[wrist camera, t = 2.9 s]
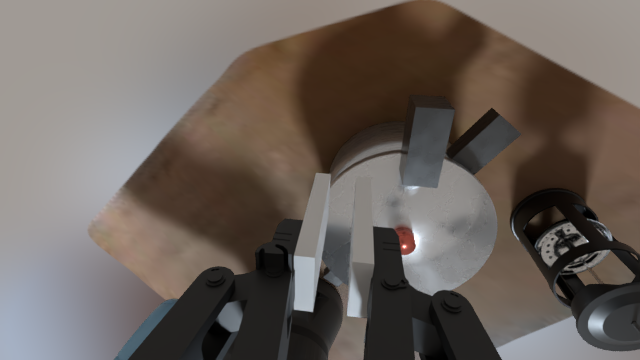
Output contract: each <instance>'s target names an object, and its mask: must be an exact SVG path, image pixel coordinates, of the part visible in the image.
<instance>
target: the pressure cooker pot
mask: <svg viewBox="0 0 640 360" xmlns="http://www.w3.org/2000/svg"><path fill="white" fill-rule="evenodd" d="M404 128H405V122H404V121H393V122H385V123H380V124H377V125H373V126H371V127H368V128H366V129H364V130H362V131H360V132H359V133H357V134H355V135H354V136H353V137H351V138H350V139H349V140H348V141H347V142H346V143H345V144H344V145H343V146H342V147H341V149H340V150H339V151H338V153H337V154H336V156H335V158H334V160H333V162H332V165H331V168H330V172H329V174H331V177H330V184H331V182H332V181H333V180H334V179H335V178H336V177H337V176H338V175H339V174H340V173H341V172H342V171H344V170H345V169H346V168H348V167H349V166H351V165H352V164H354V163H356V162H358V161H360V160H362V159H364V158H366V157H369V156H371V155H374V154H377V153H382V152H386V151H392V150H401V147H402V141H403V134H404ZM520 135H521V133H520V132H519V131H517V130H516V129H515V128H514V127H513V126H512V125H511V124H510V123H509V122H507V121H506V120H505V119H504V118H503V117H502V116H501V115H500V114H498V113H497V112H496V111H495V110H494V109H493V108H491V109H490V110H489V111H488V112H487V113H486V114H484V115H483V116H482V117H481V118H480V119H479V120H478V121H477V122H476V123H475V124H474V125H473V126H472V127H471V128H470V129H468V130H467V131H466V132H465V133H464V134H463V135H462V136H461V137H460V138H459V139H458V140H457V141H456V142H455V143H454V144H452V145H451V143H450V142H449V141H448V143H447V148H446V152H445V157H448V158H450V159H452V160H454V161H456V162H458V163H459V164H461V165H463V166H464V167H465V168H467V169H468V170H469V171H470V172H472V173H473V174H476V173H477V172H478V171H479V170H480V169H481V168H483V167H484V166H485V165H486V164H487V163H488V162H490V161H491V160H492V159H493V158H494V157H495V156H497V155H498V154H499V153H500V152H501V151H502V150H504V149H505V148H506V147H507V146H508V145H509V144H511V143H512V142H513V141H514V140H515V139H516V138H518V137H519V136H520ZM323 278H325V279H326V280H328V281H329V282H331V283H332V284H334V285H335V286H337V287H338V286H339V285H340V284H342V283H343V282H342V281H341V280H340V279H338V278H337V277H336V276H335V275H334V274H333V273H332V272H331V271H330V270H329V268H328V267H326V268H325V269H324V276H323Z"/></svg>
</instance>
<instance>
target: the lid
mask: <svg viewBox="0 0 640 360" xmlns="http://www.w3.org/2000/svg"><path fill="white" fill-rule="evenodd" d="M454 112H455V109H454V108H453V107H452V105H451V104H450V103H449V102H448V100H447V99H446V98H445V97H442V96H426V95H410V97H409V103H408V109H407V116H406V122H405V128H404V134H403V141H402V147H401V150H392V151H386V152H382V153H377V154H374V155H371V156H369V157H366V158H364V159H362V160H360V161H358V162H356V163H354V164H352V165H351V166H349V167H348V168H346V169H345V170H344V171H342V172H341V173H340V174H339V175H338V176H337V177H336V178H335V179H334V180H333V181H332V182H331V184H330V195H329V212H328V222H327V228H326V234H325V240H324V247H323V253H322V259H323V261H324V263H325V264H326V266H327V267H328V268H329V270H330V271H331V272H332V273H333V274H334V275H335V276H336V277H337V278H338V279H340V280H341V281H342V282H343V283H345V284H347V285H348V286H349V267H350V248H351V229H352V215H353V204H354V194H355V184H356V176H360V177H371V192H372V217H373V226H375V227H386V228H393V229H394V230H395V231H396V233H397V234H398V235H399V240H400V247H401V254H402V261H403V267H404V274H405V278H406V279H407V280H408V281H409V284H410V285H411V286H412V287H414V288H415V289H417V290H418V291H421V292H423V293H426V294H428V295H431V296H433V294H435V293H436V292H437V291H441V290H452V289H454V288H456V287H458V286H460V285H461V284H463V283H464V282H466V281H467V280H468V279H470V278H471V277H472V276H473V275H474V274H475V273H477V272H478V271H479V269H480V268H481V267H482V266H483V265H484V263H485V262H486V260H487V259H488V257H489V256H490V254H491V251H492V249H493V247H494V244H495V240H496V236H497V215H496V211H495V208H494V205H493V203H492V200H491V198H490V196H489V195H488V193H487V191H486V190H485V188H484V187H483V185H482V184H481V182H480V181H479V180H478V179H477V178H476V177H475V176H474V174H473V173H472V172H470V171H469V170H468V169H467V168H465V167H464V166H463V165H461V164H459V163H458V162H456V161H454V160H452V159H450V158H448V157H445V152H446V148H447V143H448V139H449V135H450V130H451V126H452V121H453V117H454Z"/></svg>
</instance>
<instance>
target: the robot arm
mask: <svg viewBox="0 0 640 360" xmlns="http://www.w3.org/2000/svg"><path fill="white" fill-rule="evenodd" d="M330 177H331V174H324V173H316V176H315V179H314V183H313V187H312V190H311V194H310V198H309V201H308V205H307V209H306V213H305V216H304V220H293V219H284V220H283V221H282V222H281V223H280V224H279V225H278V227H277V229H276V232H275V235H274V237H273V240H272V242H269V243H266V244H263V245H261V246H260V247H259V248H258V249H257V250H256V252H255V257H256V270H255V271H253V272H250V273H246V274H240V275H234V273H233V272H232V271H231V270H230V269H228V268H226V267H219V266H218V267H212V268H209V269H207V270H205V271H203V272H202V273H201V274H200V275H199V276H198V277H197V278H196V279H195V281H194V282H193V283H192V284H191V285H190V287H189V288H188V289H187V290H186V291H185V292H184V294H183V295H182V296H181V297H180V298H179V299H169V300H166V301H164V302H163V303H161V304H160V305H159V306H158V307H157V308H156V309H155V310H154V311H153V312H152V313H151V314H150V315H149V317H148V318H147V319H146V320H145V321H144V323H142V325H141V326H140V327H139V328H138V329H137V331H136V332H135V333H134V334H133V335H132V337H131V338H130V339H129V340H128V342H127V343H126V344H125V345H124V347H123V348H122V349H121V351H120V352H119V353H118V356H117V357H116V358H115V359H114V360H328V352H329V350H330V348H331V346H332V344H333V342H334V340H335V338H336V335H337V333H338V331H339V329H340V327H341V324H342V317H343V304H342V301H341V298H340V296H339V295H338V293H337V292H336V291H335V289H334V288H333V287H332V286H330V285H329V284H328V283H326V282H325V281H323V280H321V279H319V271H320V265H321V259H322V253H323V247H324V240H325V234H326V228H327V222H328V212H329V195H330ZM347 316H352V317H361V318H367V325H366V332H365V339H364V343H365V348H364V360H415V355H414V351H417V352H419V356H420V359H421V360H502V359H501V357H500V356H499V354H498V352H497V350H496V348H495V347H494V345H493V343H492V341H491V340H490V338H489V336H488V334H487V332H486V331H485V329H484V327H483V325H482V323H481V322H480V320H479V318H478V316H477V315H476V313H475V311H474V309H473V307H472V306H471V304H470V303H469V301H468V300H467V299H466V298H465V297H463V296H462V295H461V294H459V293H456V292H454V291H450V290H441V291H437V292H436V293H435V294H433V296H431V295H428V294H426V293H423V292H421V291H418V290H417V289H415V288H414V287H412V286H411V285H410V284H409V281H408V280H407V279H406V278H405V274H404V267H403V261H402V254H401V247H400V240H399V235H398V234H397V233H396V231H395V230H394V229H393V228H386V227H375V226H373V217H372V192H371V177H360V176H356V184H355V194H354V204H353V215H352V229H351V248H350V267H349V286H348V304H347Z"/></svg>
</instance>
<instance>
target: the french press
mask: <svg viewBox="0 0 640 360" xmlns="http://www.w3.org/2000/svg"><path fill="white" fill-rule="evenodd" d="M572 204H573V205H574V206H573V205H572ZM553 206H556V208H557V209H558V210H559V211H560V212H561V213H562V214H563V215H564V216H565V217H566V218H567V219H563V220H561V221H558V222H556V223H554V224H552V225H550V226H549V227H547V228H546V229H545V230H544V231H543V232H542V233H541V234H540V235H539V236H538V237H537V239H534V238H531V237H529V236H528V235H526V234H525V232H524V229H525V227H526V225H527V224H528V222H529V221H530V220H531V219H532V218H533V217H534V216H535V215H537V214H538V213H539V212H541V211H543V210H545V209H547V208H550V207H553ZM510 224H511V230H512V232H513V234H514V235H515V237H516V238H517V239H518V240H519V241H520V242H521V243H522V245H523V247H524V248H525V249H526V251H527V252H529V254H530V255H531V257H532V258H533V260H534V262H535V263H536V265H537V266H538V268H539V269H540V271H541V272H542V274H543V276H544V277H545V279H546V280H547V282H548V284H549V287H550V289H551V290H552V292H553V293H554V295H555V297H556V298H557V299H558V301H559V302H560V303H562V304H563V305H564V306H566V307H568V308H570V309H571V311H572V314H573V316H574V318H575V319H576V327H577V330H578V333H579V334H580V336H581V337H582V338H583V340H585V341H586V342H587V343H589V344H590V345H592V346H594V347H597V348H600V349H604V350H610V351H631V350H637V349H640V255H639V254H638V253H637V252H636V251H635V250H634V249H633V248H632V247H630V246H628V245H626V244H624V243H621V242H618V241H617V240H616V239H615V238H614V237H613V236H612V235H611V233H610V231H609V229H608V228H607V227H605V226H604V225H603V224H601V223H599V221H598V217H597V216H596V214H595V213H594V212H593V211H592V210H591V209H590V208H589V207H588V206H587V205H586V203H585V201H584V200H583V199H582V198H581V197H580V196H579V195H578V194H576V193H574V192H572V191H569V190H566V189H560V188H552V189H545V190H541V191H538V192H536V193H533V194H531V195H530V196H528V197H526V198H525V199H524V200H522V201H521V202H520V203H519V204H518V205H517V207H516V208H515V210H514V211H513V213H512V216H511V221H510ZM610 250H611V251H612V252H613V253H614V254H615V255H616V256H617V257H618V258H619V259H620V260H621V261H622V262H623V263H624V264H625V265H626V266H627V267H628V268H629V269H630V270H631V271H632V272H633V273H634V274H635V275H636V277H635V278H634V280H633V281H632V282H631V283H626V284H622V285H611V284H604V283H603V282H602V281H601V280H600V278H599V277H598V276H597V275H596V274H595V272H594V271H593V270H592V269H591V268H592V267H594V266H596V265H597V264H599V263H600V262H601V261H602V260H603V259H604V258H605V257H606V256H607V255H608V253H609V251H610ZM631 253H633V254H634V255H636V256H637V258H638V260H637V259H636V258H635V257H634V256H633V255H632V254H631ZM586 270H588V271H589V272H590V273H591V274H592V276H593V277H594V278H595V279H596V280H597V282H598V283H599V284H589V285H587V286H585V285H584V284H583V283H582V281H581V280H580V279H579V277H578V276H577V275H576V273H580V272H583V271H586ZM556 283H557V285H558V286H559V288H560V289H561V291H562V292H563V294H564V295H565V297H566V298H567V299H565V298H563V297H561V296H559V295H558V294H557V293H556V291H555V284H556Z"/></svg>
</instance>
